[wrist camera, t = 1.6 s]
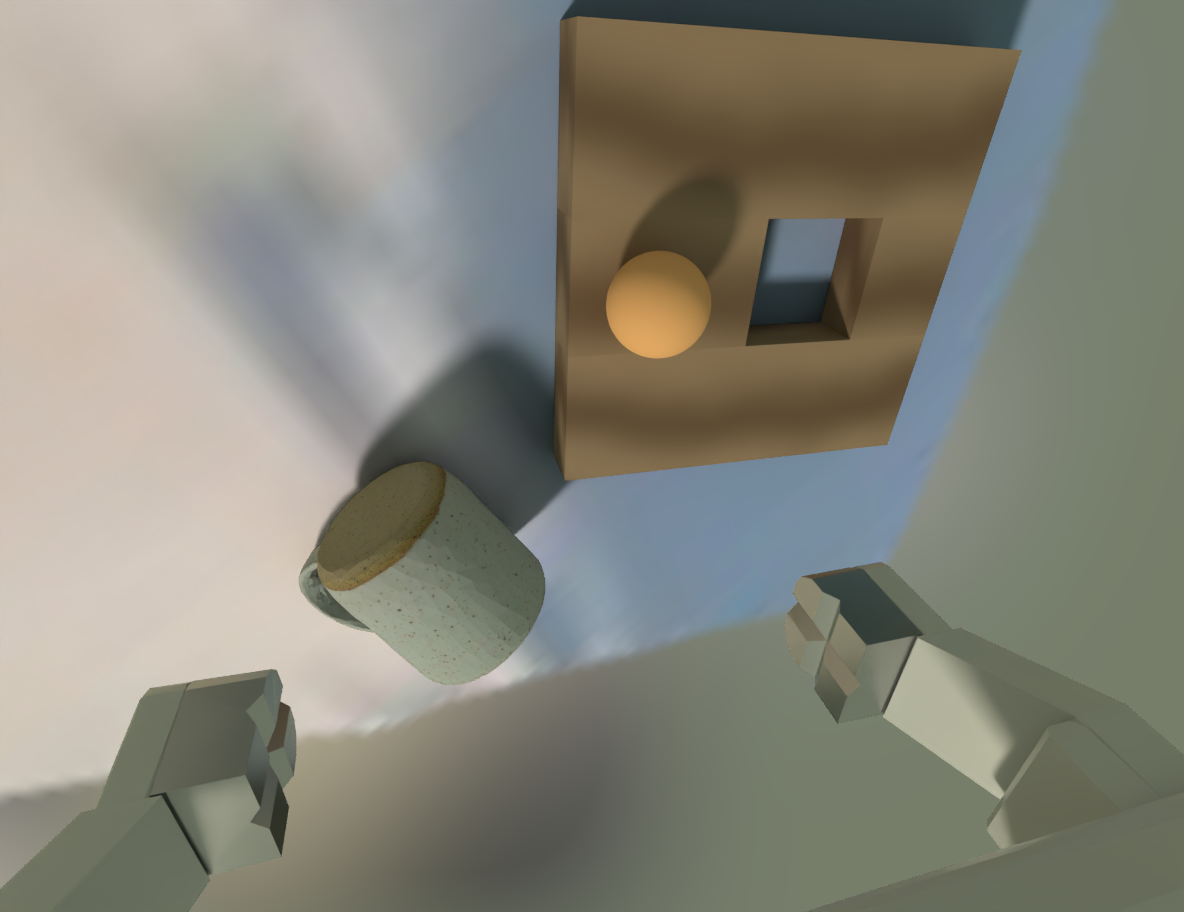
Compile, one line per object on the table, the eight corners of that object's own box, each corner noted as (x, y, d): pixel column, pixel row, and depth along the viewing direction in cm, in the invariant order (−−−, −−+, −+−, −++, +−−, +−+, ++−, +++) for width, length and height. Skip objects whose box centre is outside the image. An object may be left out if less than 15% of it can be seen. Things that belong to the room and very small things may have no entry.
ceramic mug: (435, 423, 29) (443, 525, 23) (533, 526, 34) (563, 634, 27) (259, 546, 30) (221, 675, 24) (378, 629, 35) (373, 755, 28)
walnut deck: (560, 20, 22) (577, 16, 20) (973, 51, 27) (1021, 50, 24) (553, 453, 32) (564, 480, 29) (859, 422, 36) (887, 444, 34)
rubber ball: (596, 240, 24) (628, 268, 21) (692, 238, 25) (738, 265, 22) (592, 339, 26) (620, 378, 23) (680, 334, 27) (720, 371, 24)
